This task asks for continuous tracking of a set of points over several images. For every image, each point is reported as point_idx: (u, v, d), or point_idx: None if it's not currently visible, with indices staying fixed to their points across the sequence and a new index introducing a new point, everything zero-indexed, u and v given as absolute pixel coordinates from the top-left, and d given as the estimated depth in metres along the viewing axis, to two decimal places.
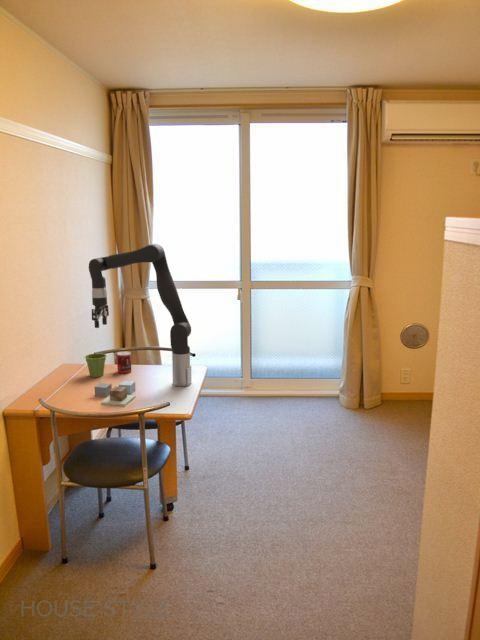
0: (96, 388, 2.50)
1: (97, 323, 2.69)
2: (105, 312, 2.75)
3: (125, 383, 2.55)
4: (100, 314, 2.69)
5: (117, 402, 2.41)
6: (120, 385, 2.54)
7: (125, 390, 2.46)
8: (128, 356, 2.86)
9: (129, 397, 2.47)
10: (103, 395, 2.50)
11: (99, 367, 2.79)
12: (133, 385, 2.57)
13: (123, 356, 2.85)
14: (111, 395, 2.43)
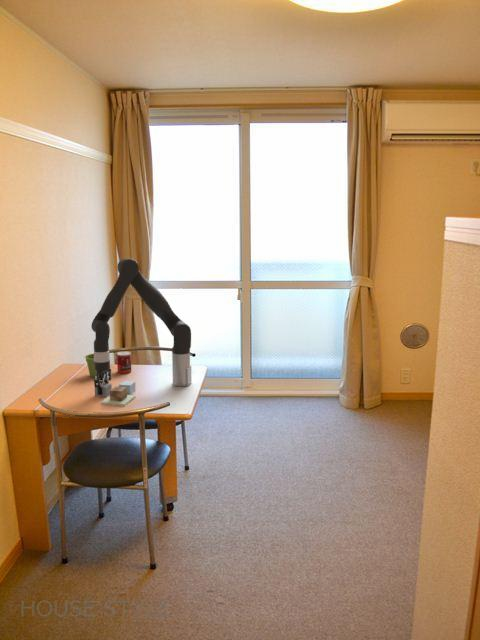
0: (96, 388, 2.50)
1: (100, 390, 2.49)
2: (107, 377, 2.54)
3: (125, 383, 2.55)
4: (103, 380, 2.49)
5: (117, 402, 2.41)
6: (120, 385, 2.54)
7: (125, 390, 2.46)
8: (128, 356, 2.86)
9: (129, 397, 2.47)
10: (103, 395, 2.50)
11: None
12: (133, 385, 2.57)
13: (123, 356, 2.85)
14: (111, 395, 2.43)
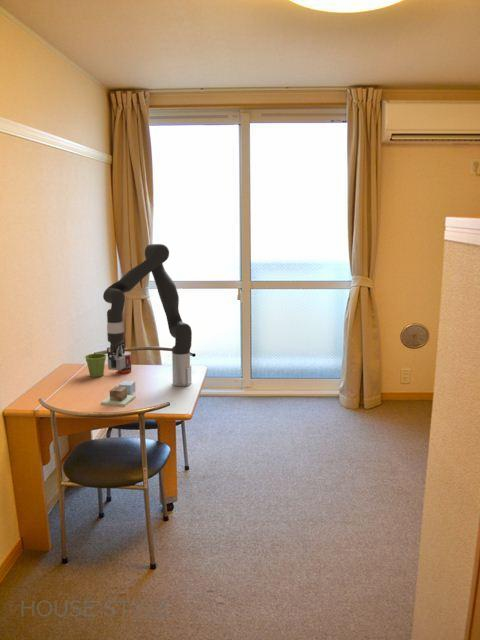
0: (109, 361, 2.39)
1: (114, 363, 2.38)
2: (121, 349, 2.43)
3: (125, 383, 2.55)
4: (117, 352, 2.38)
5: (117, 402, 2.41)
6: (120, 385, 2.54)
7: (125, 390, 2.46)
8: (128, 356, 2.86)
9: (129, 397, 2.47)
10: (117, 368, 2.39)
11: (99, 367, 2.79)
12: (133, 385, 2.57)
13: (123, 356, 2.85)
14: (111, 395, 2.43)
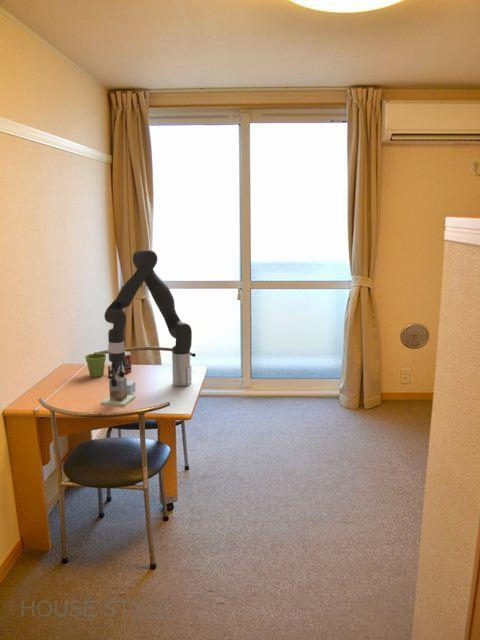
0: None
1: (114, 381, 2.39)
2: (123, 368, 2.45)
3: None
4: (117, 371, 2.39)
5: (117, 402, 2.41)
6: None
7: (125, 390, 2.46)
8: (128, 356, 2.86)
9: (129, 397, 2.47)
10: (118, 389, 2.41)
11: (99, 367, 2.79)
12: (133, 385, 2.57)
13: None
14: (111, 395, 2.43)
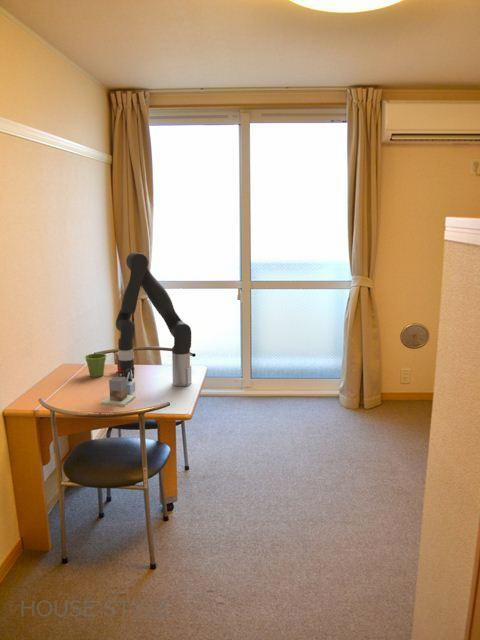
0: (111, 382, 2.41)
1: None
2: (131, 375, 2.57)
3: None
4: (127, 378, 2.53)
5: (117, 402, 2.41)
6: None
7: (125, 390, 2.46)
8: None
9: (129, 397, 2.47)
10: (118, 389, 2.41)
11: (99, 367, 2.79)
12: (133, 385, 2.57)
13: None
14: (111, 395, 2.43)
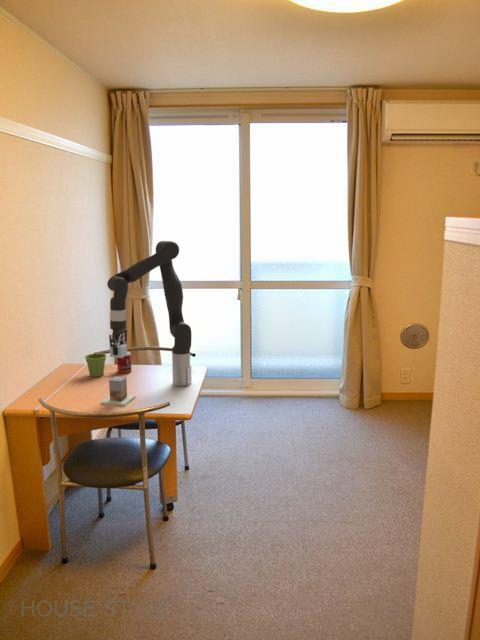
0: (111, 382, 2.41)
1: (116, 350, 2.41)
2: (123, 337, 2.46)
3: None
4: (119, 340, 2.41)
5: (117, 402, 2.41)
6: (111, 347, 2.43)
7: (125, 390, 2.46)
8: (128, 356, 2.86)
9: (129, 397, 2.47)
10: (118, 389, 2.41)
11: (99, 367, 2.79)
12: (125, 348, 2.45)
13: None
14: (111, 395, 2.43)
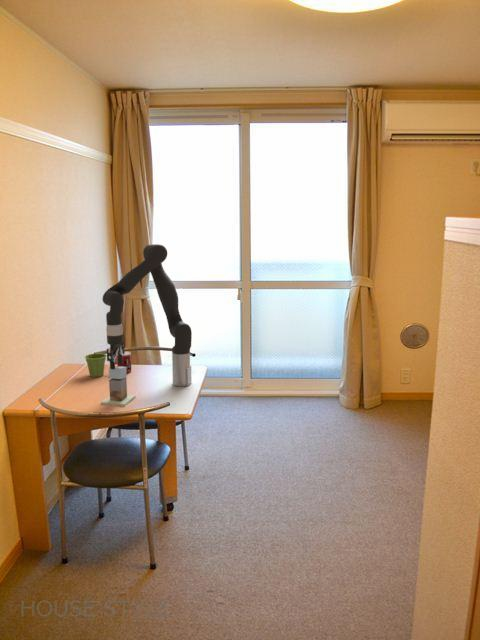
0: (111, 382, 2.41)
1: (113, 364, 2.39)
2: (121, 350, 2.45)
3: (115, 367, 2.42)
4: (116, 354, 2.40)
5: (117, 402, 2.41)
6: None
7: (125, 390, 2.45)
8: (128, 356, 2.86)
9: (129, 397, 2.47)
10: (118, 389, 2.41)
11: (99, 367, 2.79)
12: (124, 370, 2.44)
13: (123, 356, 2.85)
14: (111, 395, 2.43)
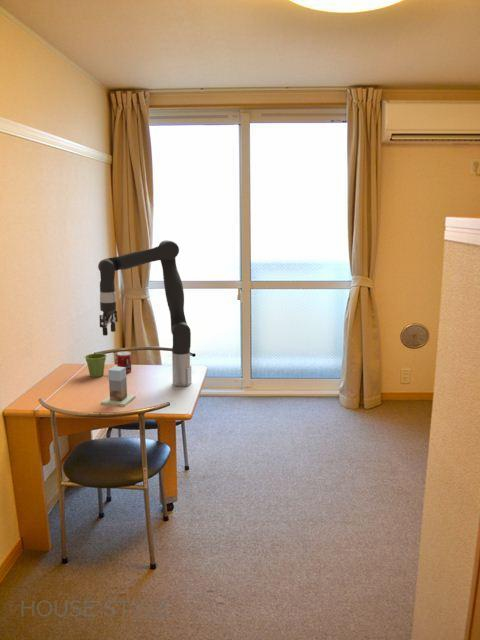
0: (111, 382, 2.41)
1: (105, 330, 2.47)
2: (114, 318, 2.53)
3: (114, 369, 2.42)
4: (109, 320, 2.47)
5: (117, 402, 2.41)
6: (109, 370, 2.40)
7: (125, 390, 2.45)
8: (128, 356, 2.86)
9: (129, 397, 2.47)
10: (118, 389, 2.41)
11: (99, 367, 2.79)
12: (123, 371, 2.43)
13: (123, 356, 2.85)
14: (111, 395, 2.43)
